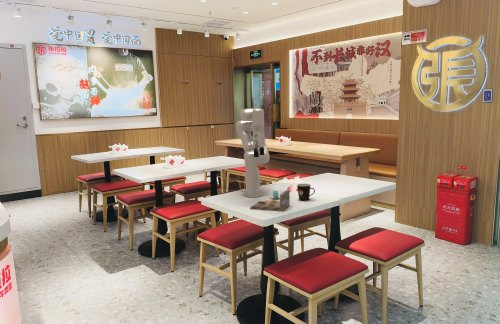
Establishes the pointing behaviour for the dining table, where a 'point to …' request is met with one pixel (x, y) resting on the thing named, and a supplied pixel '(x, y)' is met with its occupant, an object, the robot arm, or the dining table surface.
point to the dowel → (275, 195)
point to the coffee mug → (304, 191)
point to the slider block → (273, 202)
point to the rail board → (283, 206)
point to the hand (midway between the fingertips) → (259, 156)
